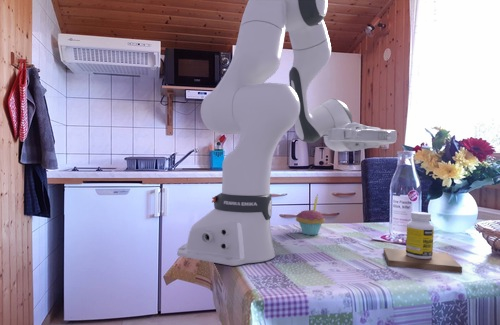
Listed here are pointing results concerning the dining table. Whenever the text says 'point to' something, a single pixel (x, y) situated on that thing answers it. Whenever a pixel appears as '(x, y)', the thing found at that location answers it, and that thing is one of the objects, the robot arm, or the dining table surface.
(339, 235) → the dining table surface
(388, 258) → the serving board
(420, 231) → the supplement bottle
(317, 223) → the cupcake
